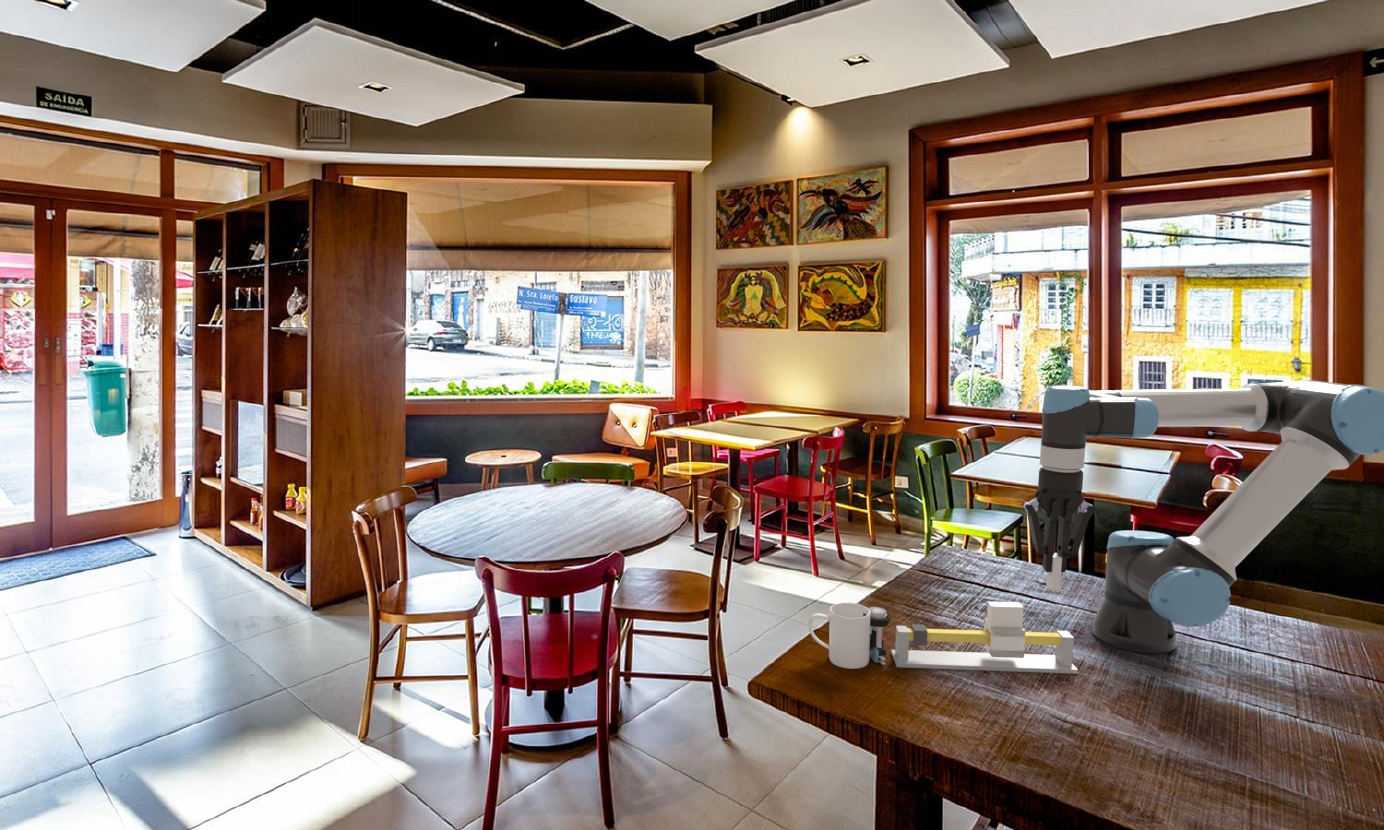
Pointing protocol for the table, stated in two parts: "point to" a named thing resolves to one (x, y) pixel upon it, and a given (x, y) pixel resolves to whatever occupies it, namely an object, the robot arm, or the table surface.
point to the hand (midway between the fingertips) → (1053, 587)
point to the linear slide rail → (984, 658)
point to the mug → (847, 635)
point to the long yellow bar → (973, 636)
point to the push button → (877, 633)
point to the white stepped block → (1005, 629)
